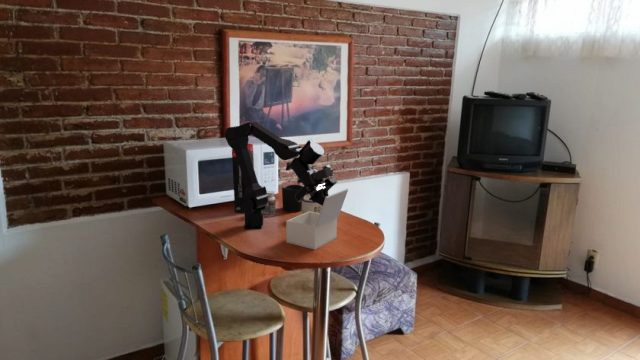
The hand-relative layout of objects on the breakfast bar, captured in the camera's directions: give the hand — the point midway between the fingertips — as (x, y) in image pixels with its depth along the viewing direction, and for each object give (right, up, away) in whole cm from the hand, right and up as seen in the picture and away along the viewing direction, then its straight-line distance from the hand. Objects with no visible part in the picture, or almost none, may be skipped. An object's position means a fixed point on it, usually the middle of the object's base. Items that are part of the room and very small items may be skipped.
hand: (330, 208), depth 163 cm
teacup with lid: (-6, -6, +33) cm, 34 cm away
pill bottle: (-25, -5, +36) cm, 44 cm away
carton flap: (0, 0, 0) cm, 1 cm away
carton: (-7, -12, +7) cm, 15 cm away
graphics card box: (-37, -3, +47) cm, 59 cm away
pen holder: (-15, -3, +45) cm, 47 cm away
